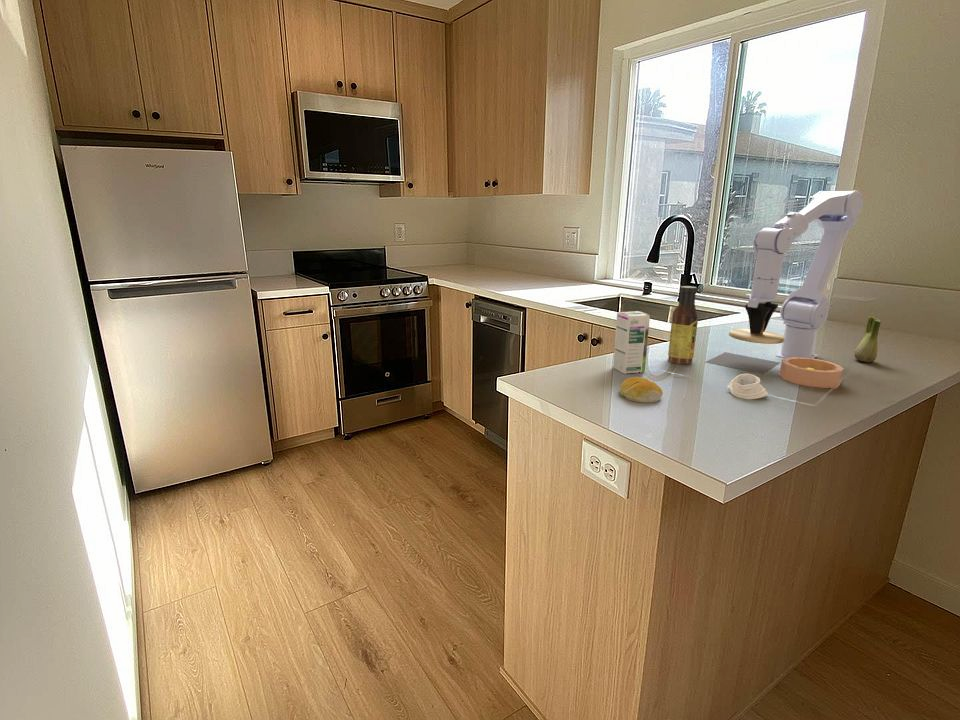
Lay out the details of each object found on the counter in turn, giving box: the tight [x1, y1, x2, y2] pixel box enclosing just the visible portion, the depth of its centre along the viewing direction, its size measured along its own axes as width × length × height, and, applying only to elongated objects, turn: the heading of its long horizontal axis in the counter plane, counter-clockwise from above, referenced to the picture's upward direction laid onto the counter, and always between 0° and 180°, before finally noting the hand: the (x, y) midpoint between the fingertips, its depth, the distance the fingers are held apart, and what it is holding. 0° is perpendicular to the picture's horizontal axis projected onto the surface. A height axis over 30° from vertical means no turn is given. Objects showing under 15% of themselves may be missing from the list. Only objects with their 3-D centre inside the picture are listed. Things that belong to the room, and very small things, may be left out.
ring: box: [779, 357, 844, 390], centre depth 123 cm, size 12×12×4 cm
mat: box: [705, 352, 781, 375], centre depth 137 cm, size 14×14×1 cm
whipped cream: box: [726, 373, 769, 400], centre depth 114 cm, size 8×7×5 cm
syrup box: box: [612, 310, 651, 375], centre depth 128 cm, size 6×6×14 cm
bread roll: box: [619, 376, 664, 404], centre depth 112 cm, size 8×9×4 cm
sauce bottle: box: [667, 285, 699, 366], centre depth 134 cm, size 6×6×20 cm
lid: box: [728, 321, 785, 345], centre depth 132 cm, size 13×13×4 cm
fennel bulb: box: [853, 316, 882, 363], centre depth 139 cm, size 6×5×12 cm
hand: (757, 332), depth 132 cm, fingers closed on lid, 3 cm apart
